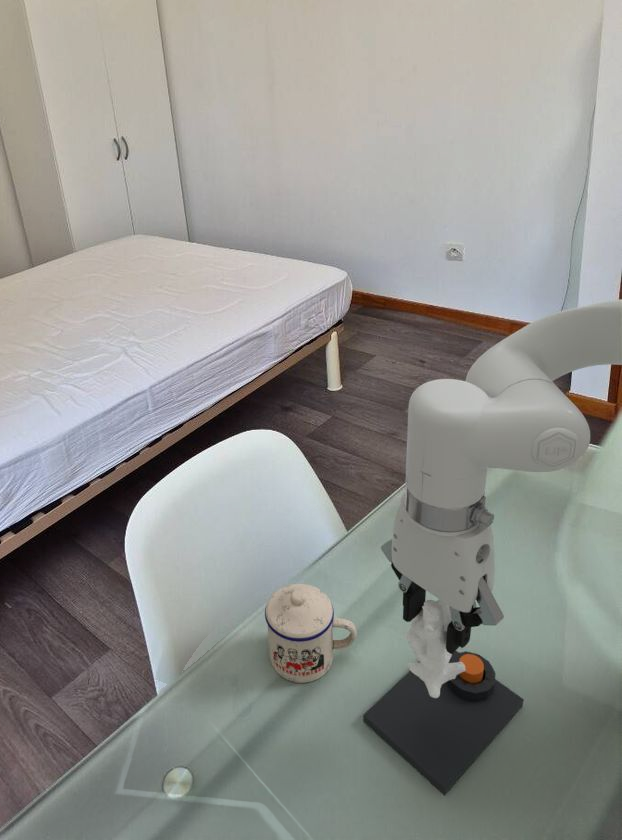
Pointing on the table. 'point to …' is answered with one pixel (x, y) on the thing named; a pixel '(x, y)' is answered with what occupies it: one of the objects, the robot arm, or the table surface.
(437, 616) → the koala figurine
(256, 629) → the table surface
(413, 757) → the black push button board
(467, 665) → the button
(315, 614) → the teacup with lid
